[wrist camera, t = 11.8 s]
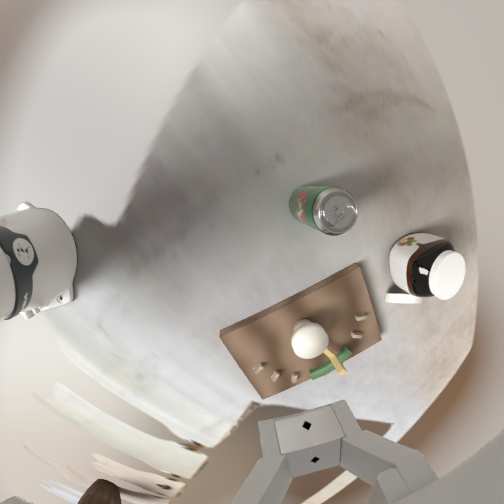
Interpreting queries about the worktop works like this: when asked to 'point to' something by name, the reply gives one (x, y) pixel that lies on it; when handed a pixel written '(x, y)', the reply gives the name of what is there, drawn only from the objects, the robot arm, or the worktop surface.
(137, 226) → the worktop surface
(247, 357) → the gauge board
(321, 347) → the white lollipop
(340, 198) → the soda can
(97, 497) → the plant pot
